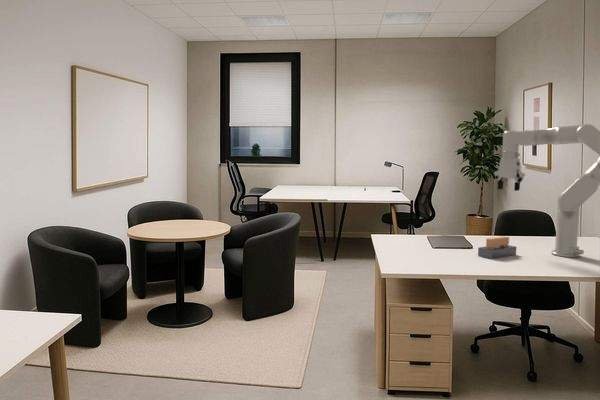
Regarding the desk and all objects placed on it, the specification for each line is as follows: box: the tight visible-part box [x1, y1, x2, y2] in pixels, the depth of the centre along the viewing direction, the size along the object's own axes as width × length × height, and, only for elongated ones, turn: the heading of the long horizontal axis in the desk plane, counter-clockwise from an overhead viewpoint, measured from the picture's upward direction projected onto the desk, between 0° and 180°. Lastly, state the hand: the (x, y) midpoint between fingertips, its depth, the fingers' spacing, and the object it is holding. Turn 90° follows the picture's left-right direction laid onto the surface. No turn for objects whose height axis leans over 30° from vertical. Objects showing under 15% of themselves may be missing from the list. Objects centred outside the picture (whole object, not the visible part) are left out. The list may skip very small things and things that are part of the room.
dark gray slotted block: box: [477, 244, 517, 260], centre depth 271 cm, size 8×18×4 cm, turn 124°
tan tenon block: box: [485, 235, 510, 249], centre depth 271 cm, size 3×13×8 cm, turn 124°
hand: (508, 189), depth 284 cm, fingers open, 9 cm apart
